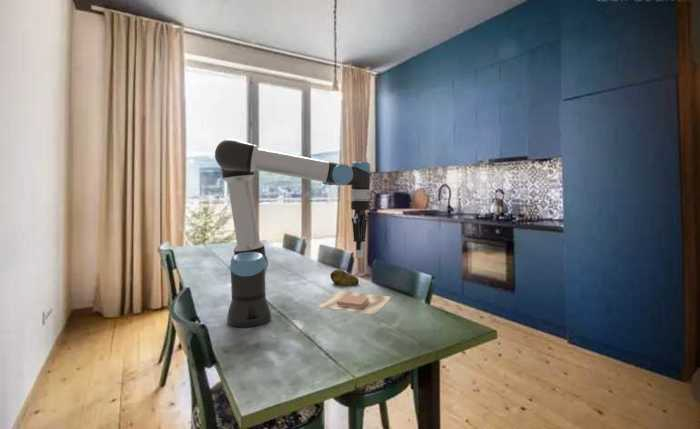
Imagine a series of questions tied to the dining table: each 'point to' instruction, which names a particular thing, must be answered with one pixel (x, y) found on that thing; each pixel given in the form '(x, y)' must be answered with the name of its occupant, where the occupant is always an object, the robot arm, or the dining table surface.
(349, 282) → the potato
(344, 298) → the tile
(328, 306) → the board
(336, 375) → the dining table surface
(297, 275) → the dining table surface
